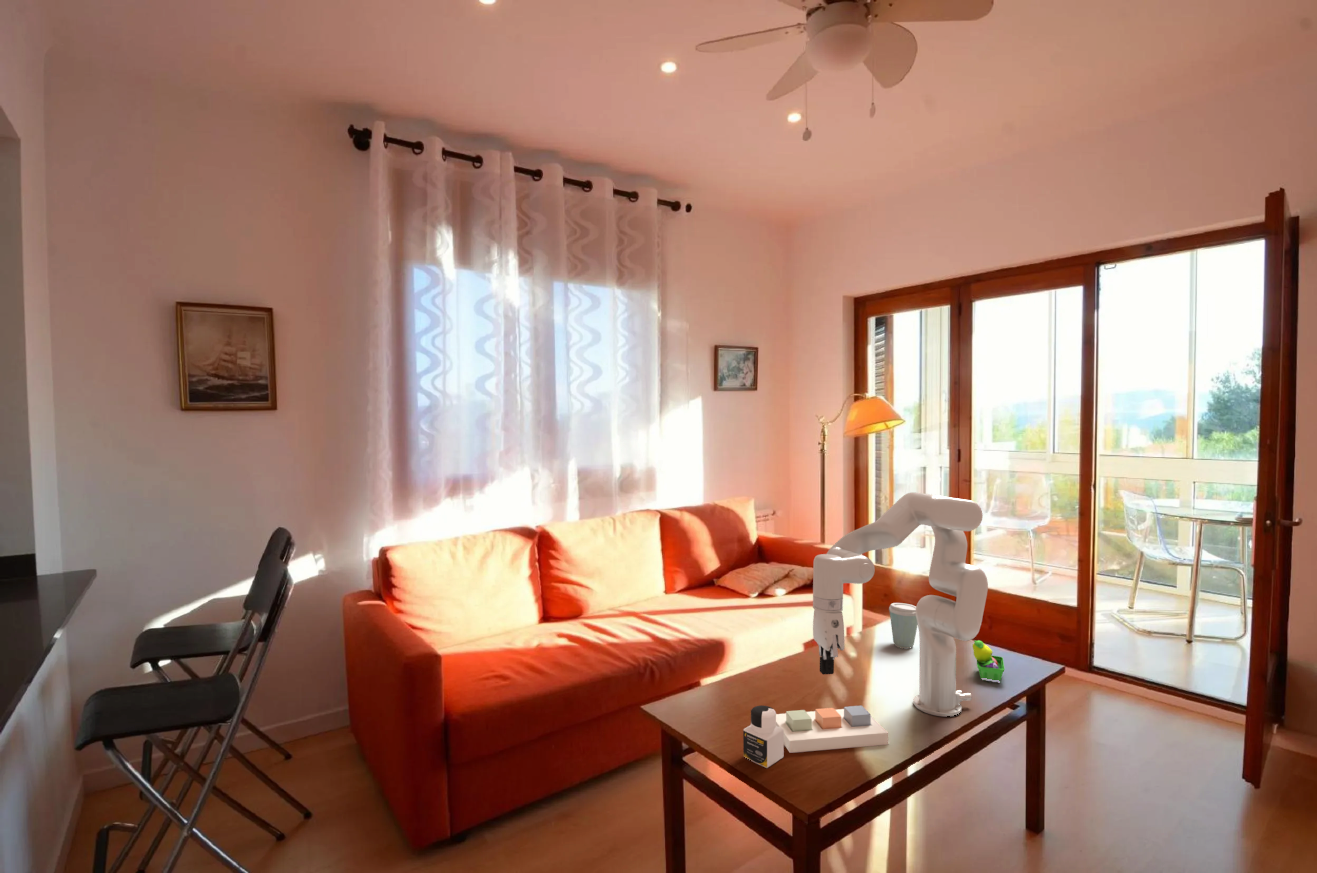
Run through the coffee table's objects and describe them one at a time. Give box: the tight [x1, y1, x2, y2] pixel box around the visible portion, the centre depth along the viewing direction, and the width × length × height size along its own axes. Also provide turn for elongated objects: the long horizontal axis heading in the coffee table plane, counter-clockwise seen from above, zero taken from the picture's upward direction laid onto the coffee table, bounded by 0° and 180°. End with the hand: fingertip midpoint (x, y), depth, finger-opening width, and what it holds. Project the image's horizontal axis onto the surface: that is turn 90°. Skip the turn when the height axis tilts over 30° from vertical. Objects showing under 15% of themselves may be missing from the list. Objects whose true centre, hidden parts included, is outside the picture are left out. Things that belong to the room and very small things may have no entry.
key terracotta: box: [814, 707, 841, 729], centre depth 164 cm, size 5×5×4 cm
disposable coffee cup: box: [888, 602, 918, 649], centre depth 227 cm, size 11×11×15 cm
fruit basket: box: [972, 640, 1005, 682], centre depth 200 cm, size 11×9×11 cm
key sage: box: [785, 709, 812, 732], centre depth 163 cm, size 5×5×4 cm
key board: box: [776, 708, 889, 754], centre depth 164 cm, size 26×14×3 cm, turn 98°
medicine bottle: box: [742, 705, 785, 769], centre depth 154 cm, size 7×7×12 cm
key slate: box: [843, 705, 872, 727], centre depth 165 cm, size 5×5×4 cm
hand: (826, 672), depth 164 cm, fingers closed
